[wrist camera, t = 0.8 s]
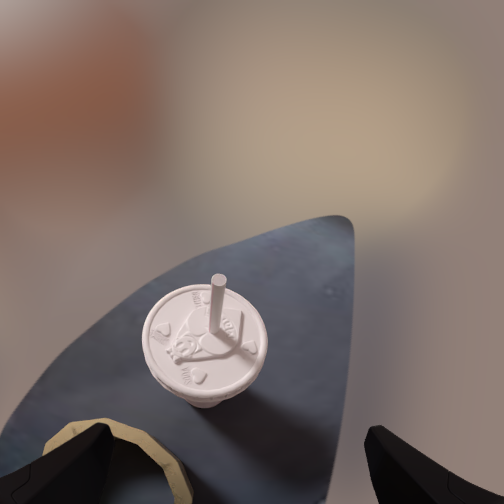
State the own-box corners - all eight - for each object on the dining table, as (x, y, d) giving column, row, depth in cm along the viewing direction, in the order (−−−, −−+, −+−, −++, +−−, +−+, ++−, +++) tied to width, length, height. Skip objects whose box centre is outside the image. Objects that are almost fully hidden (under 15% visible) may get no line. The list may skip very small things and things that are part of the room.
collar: (180, 559, 11) (177, 576, 8) (54, 512, 11) (30, 516, 8) (203, 449, 18) (203, 446, 15) (80, 409, 18) (59, 397, 15)
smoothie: (260, 393, 22) (325, 303, 11) (195, 440, 18) (185, 407, 8) (210, 335, 24) (223, 207, 14) (147, 375, 21) (96, 266, 11)
